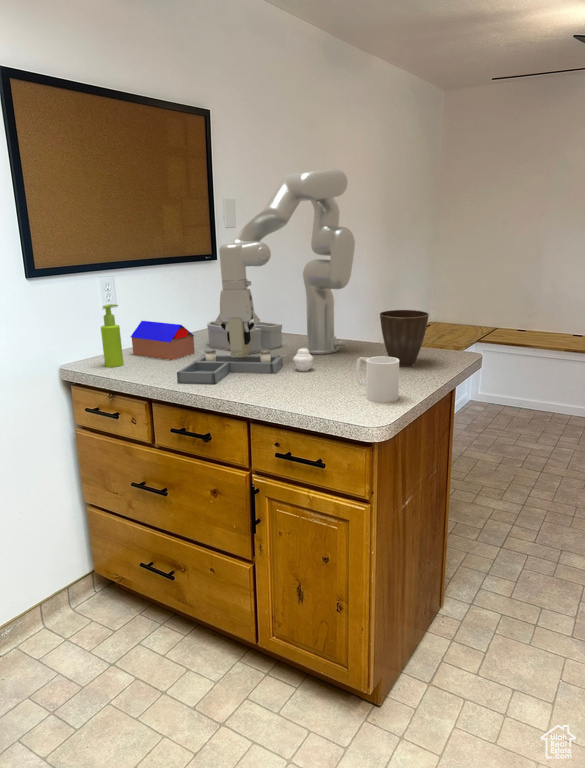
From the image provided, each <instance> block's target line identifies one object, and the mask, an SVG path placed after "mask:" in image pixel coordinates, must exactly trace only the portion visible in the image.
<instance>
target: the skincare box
mask: <svg viewBox="0 0 585 768" xmlns="http://www.w3.org/2000/svg"><path fill="white" fill-rule="evenodd" d="M228 324H229V336H230V348H231V351H230V355H231V357H245V356H249V344H247V345H245V343H244V332H245V328H244V325H243V322H242V319H228Z"/></svg>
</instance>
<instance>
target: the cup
mask: <svg viewBox="0 0 585 768" xmlns="http://www.w3.org/2000/svg"><path fill="white" fill-rule="evenodd" d="M361 361H363V362H366V379H365V380H366V381H364V380H363V381H361V376H360V375H361V374H360V366H361ZM355 376H356V381H357V383H358V385H359V386H363V387H365V388H366V391H365V392H366V396H365V397H366V400H368V401H370V402H374V403H384V404H385V403H386V402H387V403H393V402H396V401H398V400H399V393H400V392H399V391H400V390H399V389H400V386H399V385H400V383H399V382H400V366H399V359H397V358H394V357H388V356H380V355H379V356H372V357H363V356H360V357H358V358H357V360H356V366H355Z"/></svg>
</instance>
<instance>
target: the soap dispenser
mask: <svg viewBox="0 0 585 768" xmlns="http://www.w3.org/2000/svg"><path fill="white" fill-rule="evenodd" d="M114 307H119V304H113V303H109V304H105V305H102V309H105V310H104V311H105V314H104V315H103V322H104V324H103V325H102V326H100V334H101V340H102V341H101V342H102V350H103V359H104V366H105V367H106V368H119V367H122V366H124V355H123V347H122V339H121V338H122V337H121V329H120V324H119V325H118V324H116V319H115V315H114V314H112V309H111V308H114Z"/></svg>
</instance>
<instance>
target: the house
mask: <svg viewBox="0 0 585 768" xmlns="http://www.w3.org/2000/svg"><path fill="white" fill-rule="evenodd" d="M194 337H195V335H194V333H192V332H191V331H189V330H188V328H186V327H185V326H183V324H176V323H169V322H168V323H167V322H158V321H150V320H149V321H148V320H141V321H140V322H139V324H138V325H137V327H136V328H135V329H134V331H133V333H132V334H131V335H130V338H131V345H132V355H133V356H138V355H139V356H140V357H145V356H148V357H147V358H151V357H155V358H154V359H158V358H161V359H160V360H164V359H169V360H168V361H171V360H172V361H174V360H173V359H175V360H178V359H177V358H179V359H181V358H180V357H182V358H185V357H184V356H186V357H188V356H187V355H190V356H192V355H191V354H193V355H195V354H196V352H195V351H196V350H195V339H194ZM194 353H195V354H194Z"/></svg>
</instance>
